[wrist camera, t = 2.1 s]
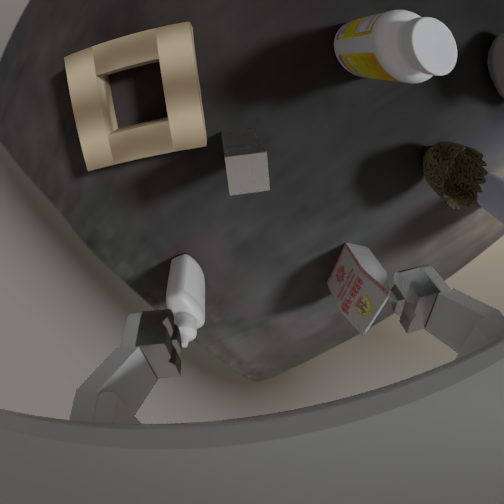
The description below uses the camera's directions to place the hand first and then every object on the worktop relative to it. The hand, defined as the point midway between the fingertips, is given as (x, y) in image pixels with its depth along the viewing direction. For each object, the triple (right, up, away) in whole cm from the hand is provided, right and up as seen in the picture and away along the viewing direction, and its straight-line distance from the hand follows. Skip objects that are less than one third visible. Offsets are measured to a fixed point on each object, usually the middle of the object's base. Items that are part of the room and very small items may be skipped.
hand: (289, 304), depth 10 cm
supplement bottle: (+10, +23, +15) cm, 29 cm away
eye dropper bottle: (-9, 0, +28) cm, 29 cm away
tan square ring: (-12, +17, +15) cm, 26 cm away
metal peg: (-3, +13, +20) cm, 24 cm away
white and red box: (+12, 0, +30) cm, 33 cm away
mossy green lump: (+21, +14, +22) cm, 34 cm away
